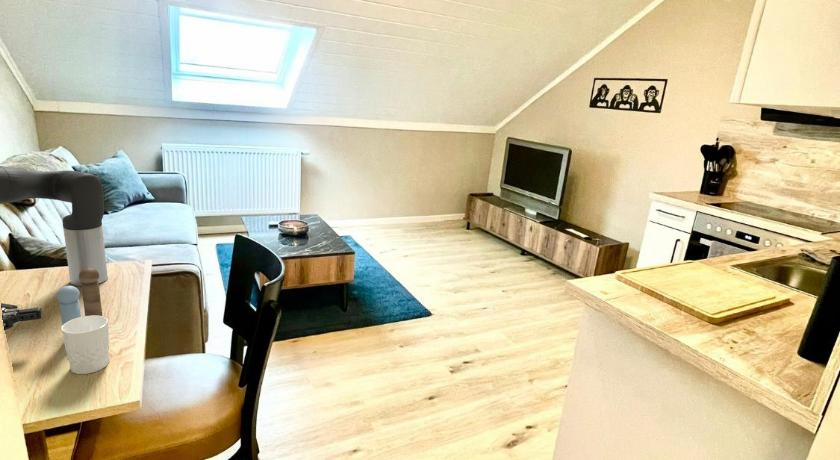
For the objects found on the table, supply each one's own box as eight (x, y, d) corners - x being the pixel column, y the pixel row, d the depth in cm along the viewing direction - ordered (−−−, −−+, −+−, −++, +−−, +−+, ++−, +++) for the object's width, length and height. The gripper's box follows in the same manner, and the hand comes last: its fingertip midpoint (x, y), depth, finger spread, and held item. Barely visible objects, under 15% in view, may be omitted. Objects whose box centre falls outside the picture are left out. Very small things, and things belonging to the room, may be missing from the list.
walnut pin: (84, 315, 116) (78, 266, 112) (104, 312, 118) (99, 264, 115) (83, 322, 113) (76, 272, 109) (103, 319, 115) (97, 270, 111)
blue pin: (64, 337, 106) (56, 284, 102) (86, 334, 108) (79, 281, 104) (61, 346, 102) (53, 291, 98) (84, 342, 104) (77, 288, 101)
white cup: (77, 381, 91) (71, 337, 89) (60, 366, 95) (54, 324, 92) (119, 364, 98) (115, 323, 95) (101, 351, 102) (97, 311, 99)
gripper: (-86, 324, 85) (33, 310, 94) (-60, 296, 96) (44, 286, 105) (-77, 359, 87) (38, 342, 96) (-53, 328, 98) (48, 315, 107)
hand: (41, 312), depth 100 cm, fingers closed
